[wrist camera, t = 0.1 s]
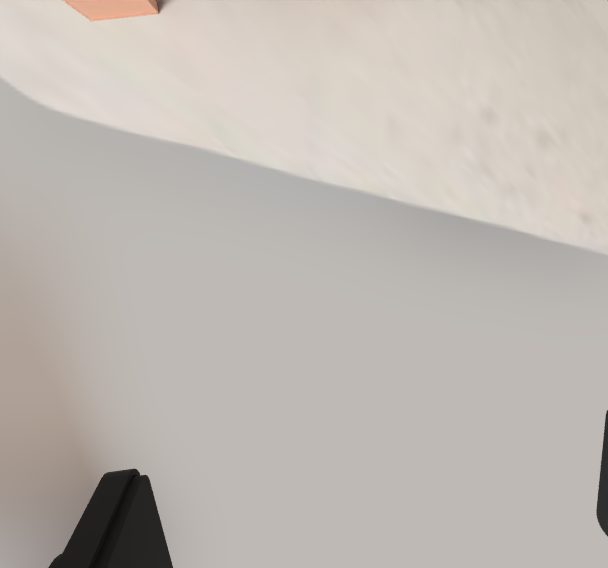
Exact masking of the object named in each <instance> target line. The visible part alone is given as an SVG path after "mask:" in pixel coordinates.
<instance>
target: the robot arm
mask: <svg viewBox="0 0 608 568" xmlns="http://www.w3.org/2000/svg"><path fill="white" fill-rule="evenodd" d="M597 518H598V522H599V524H600V526H601V528H602V530H603V531H604V532H605V534H606V535H607V536H608V411H607V413H606V420H605V430H604V441H603V451H602V461H601V471H600V481H599V491H598V502H597ZM49 568H173V566H172V562H171V558H170V555H169V551H168V547H167V543H166V540H165V536H164V532H163V529H162V525H161V521H160V517H159V514H158V510H157V506H156V502H155V499H154V495H153V491H152V487H151V484H150V480H149V478H148V476H147V475H141V476H140V473H139V472H138V470H137V469H129V470H122V471H115V472H108V473H106V474H104V475H103V477H102V478H101V480H100V482H99V484H98V486H97V488H96V490H95V492H94V494H93V496H92V498H91V500H90V502H89V504H88V505H87V507H86V509H85V511H84V513H83V515H82V517H81V519H80V521H79V523H78V525H77V527H76V528H75V530H74V533H73V534H72V536H71V538H70V540H69V542H68V544H67V546H66V548H65V550H64V552H63V553H62V554H60V555H59V556H57V557H56V558H55V559H54V560H53V562H52V563H51V565H50V566H49Z"/></svg>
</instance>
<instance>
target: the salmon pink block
mask: <svg viewBox="0 0 608 568" xmlns="http://www.w3.org/2000/svg"><path fill="white" fill-rule="evenodd" d="M62 1H64V2H65V3H67V4H68V5H70V6H71V7H72V8H74V9H75V10H77V11H78V12H79V13H81V14H82V15H84V16H85V17H86V18H88V19H89V20H91V21H99V20H108V19H117V18H126V17H135V16H144V15H153V14H159V12H158V7H157V1H156V0H62Z"/></svg>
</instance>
